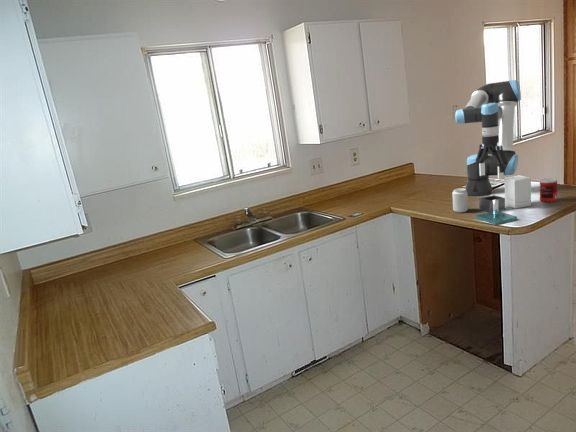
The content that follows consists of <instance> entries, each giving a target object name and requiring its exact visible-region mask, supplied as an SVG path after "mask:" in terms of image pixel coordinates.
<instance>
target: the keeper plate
mask: <svg viewBox="0 0 576 432" xmlns="http://www.w3.org/2000/svg"><path fill="white" fill-rule="evenodd" d="M475 219H478V220H480V221H482V222H485V223H488V224H492V225H495V226H497V225H501V223H502V224H505V222H506V223H510V222H513V220H514V221H517V220H518V216H516V215H513V214H509V213H506V212H502V211H501V210H499V208H498V200H497V199H495V200H493V211H492V212H485V213H480V214H476V215H475ZM509 221H510V222H509Z"/></svg>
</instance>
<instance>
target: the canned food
mask: <svg viewBox="0 0 576 432" xmlns="http://www.w3.org/2000/svg"><path fill="white" fill-rule="evenodd" d="M557 199H558V179H557V178H552V177H551V178H542V179H539V202H542V203H554V202H557V201H558V200H557Z"/></svg>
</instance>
